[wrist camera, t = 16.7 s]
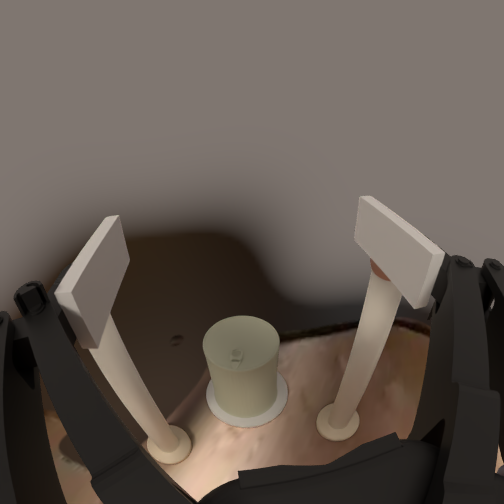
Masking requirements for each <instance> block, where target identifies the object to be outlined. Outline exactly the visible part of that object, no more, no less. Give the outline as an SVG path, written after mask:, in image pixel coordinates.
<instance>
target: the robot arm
mask: <svg viewBox="0 0 504 504" xmlns="http://www.w3.org/2000/svg"><path fill="white" fill-rule="evenodd" d="M354 240H355V241H356V242H357V243H358V244H359V246H360V247H361V248H362V249H363V250H364V251H365V252H366V253H367V254H368V255H369V257H370V258H371V259H372V260H373V261H374V262H375V263H376V264H377V265H378V267H379V268H380V269H381V270H382V271H383V272H384V273H385V275H386V276H387V277H388V278H389V279H390V280H391V282H392V283H393V284H394V285H395V286H396V287H397V289H398V290H399V291H400V292H401V293H402V295H403V296H404V297H405V298H406V299H407V301H408V302H409V303H410V304H411V306H412V307H413V308H414V309H417V308H421V307H425V306H427V304H428V301H429V299H430V296H431V295H432V296H433V297H434V298H435V299H436V300H435V302H434V304H433V307H432V309H431V312H430V314H429V317H428V319H427V320H429V319H430V318H431V317H432V322H431V332H430V341H429V349H428V357H427V363H426V370H425V375H424V381H423V386H422V391H421V396H420V401H419V405H418V409H417V414H416V418H415V421H414V425H413V428H412V431H411V433H410V435H409V436H408V438H407V439H400V440H399V438H398V436H397V434H396V432H394V433H392V434H389V435H387V436H384V437H381V438H379V439H376V440H373V441H370V442H367V443H365V444H362V445H360V446H359V447H357V448H355V449H354V450H352V451H351V452H349V453H347V454H345V455H344V456H342V457H340V458H338V459H337V460H335V461H333V462H331V463H329V464H327V465H315V466H294V465H278V466H272V467H266V468H259V469H251V470H243V471H238V475H239V478H238V479H235V480H232V481H229V482H227V483H225V484H223V485H221V486H219V487H217V488H215V489H214V490H212V491H211V492H209V493H208V494H207V495H205V496H204V497H203V498H202V499H201V500H200V501H199V502H197V501H196V500H195V499H193V498H192V497H191V496H190V495H189V494H188V493H187V492H186V491H185V490H184V489H182V488H181V487H180V486H179V485H178V484H177V483H176V482H175V481H174V480H173V479H172V478H171V477H170V476H169V475H168V474H167V473H166V472H165V471H164V470H163V469H162V468H161V467H160V466H159V465H158V464H157V462H156V461H155V460H154V459H153V458H152V457H151V456H150V455H149V453H148V452H147V451H146V450H145V449H144V448H143V447H142V445H141V444H140V443H139V442H138V441H137V439H136V438H135V437H134V436H133V435H132V433H131V432H130V431H129V429H128V428H127V427H126V425H125V424H124V423H123V422H122V420H121V419H120V418H119V417H118V415H117V413H116V412H115V411H114V409H113V408H112V407H111V405H110V404H109V402H108V401H107V399H106V398H105V396H104V395H103V393H102V392H101V390H100V389H99V387H98V386H97V384H96V383H95V381H94V379H93V378H92V376H91V375H90V373H89V371H88V370H87V368H86V366H85V365H84V363H83V361H82V359H81V358H80V356H79V354H78V353H77V351H76V349H75V347H74V343H75V341H76V338H77V340H78V342H79V344H80V345H81V347H82V348H84V349H98V348H99V345H100V342H101V338H102V335H103V332H104V329H105V326H106V323H107V320H108V317H109V314H110V311H111V308H112V306H113V303H114V300H115V297H116V295H117V292H118V289H119V287H120V284H121V281H122V279H123V276H124V274H125V271H126V269H127V266H128V264H129V261H130V259H129V255H128V251H127V247H126V243H125V239H124V235H123V231H122V226H121V222H120V218H119V215H117V216H110V217H106V218H105V219H104V221H103V222H102V223H101V225H100V226H99V227H98V229H97V230H96V231H95V233H94V234H93V235H92V237H91V238H90V239H89V241H88V243H87V244H86V245H85V247H84V248H83V249H82V251H81V252H80V254H79V255H78V257H77V258H76V260H75V261H74V263H73V264H69V265H68V266H67V267H66V268H65V269H63V270H62V272H61V273H60V275H59V276H58V278H57V279H56V281H55V282H54V284H53V285H52V287H51V289H50V290H49V292H48V293H46V291H45V289H44V287H43V284H42V283H41V282H40V281H31V282H28V283H26V284H24V285H23V286H21V287H20V288H19V289H18V290H17V291H16V293H15V295H14V301H15V302H16V305H17V307H18V308H19V310H20V312H21V314H22V316H23V317H22V318H19V319H15V320H12V319H11V318H10V315H9V314H8V313H7V312H5V311H1V312H0V504H67V503H66V500H65V497H64V494H63V492H62V488H61V485H60V482H59V479H58V476H57V472H56V469H55V465H54V461H53V457H52V453H51V449H50V444H49V440H48V435H47V429H46V424H45V418H44V412H43V405H42V397H41V388H40V377H39V371H40V374H41V376H42V379H43V382H44V384H45V386H46V389H47V391H48V394H49V396H50V398H51V401H52V403H53V405H54V408H55V410H56V412H57V414H58V416H59V418H60V420H61V422H62V424H63V426H64V428H65V430H66V432H67V434H68V436H69V438H70V440H71V441H72V443H73V445H74V447H75V449H76V450H77V452H78V454H79V455H80V457H81V459H82V461H83V462H84V464H85V465H86V467H87V469H88V470H89V472H90V474H91V476H92V480H91V481H90V482H91V485H92V487H93V489H94V491H95V492H96V494H97V496H98V497H99V498H100V500H101V501H102V502H103V504H504V465H503V466H501V467H500V468H499V469H498V472H497V473H495V467H496V461H497V453H498V443H499V448H500V452H501V457H502V460H503V463H504V266H503V265H502V264H501V263H500V262H499V261H497V260H495V259H489V258H487V259H485V260H484V263H483V266H482V268H478V267H475V266H474V264H473V263H472V262H471V261H470V260H468V259H466V258H465V257H462V256H457V255H455V256H452V257H451V256H449V255H448V254H447V253H446V252H445V251H443V250H442V249H441V248H440V247H439V246H437V245H436V244H435V243H434V242H433V241H431V240H430V239H429V238H428V237H426V236H425V235H423V234H422V233H420V232H419V231H418V230H417V229H415V228H414V227H413V226H411V225H410V224H409V223H407V222H406V221H405V220H403V219H402V218H401V217H400V216H398V215H397V214H395V213H394V212H393V211H391V210H390V209H388V208H387V207H386V206H384V205H383V204H382V203H380V202H378V201H377V200H376V199H374V198H373V197H372V196H360V197H359V205H358V213H357V221H356V228H355V235H354ZM493 300H495V302H494V306H493V308H492V309H491V307H490V306H491V303H492V301H493Z"/></svg>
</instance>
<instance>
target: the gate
mask: <svg viewBox="0 0 504 504" xmlns="http://www.w3.org/2000/svg"><path fill="white" fill-rule="evenodd" d="M370 262H371V267H372V271H371V276H370V281H369V285H368V290H367V294H366V298H365V303H364V306H363V311H362V314H361V318H360V322H359V326H358V329H357V333H356V337H355V340H354V344H353V347H352V350H351V354H350V357H349V360H348V363H347V367H346V370H345V373H344V376H343V379H342V382H341V385H340V388H339V390H338V393H337V396H336V399H335V402H334V403H332V404H329V405H327V406H325V407H324V408H323V409H322V410H321V411H320V412H319V414H318V417H317V420H316V427H317V430H318V432H319V434H320V435H321V436H322V437H324V438H325V439H327V440H330V441H344V440H346V439H348V438H350V437H351V436H352V435H353V434H354V433H355V432H356V430H357V428H358V426H359V415H358V413H357V411H356V408H357V406H358V404H359V402H360V400H361V398H362V396H363V394H364V392H365V390H366V387H367V385H368V383H369V381H370V379H371V376H372V374H373V372H374V370H375V367H376V365H377V363H378V360H379V358H380V355H381V353H382V350H383V348H384V345H385V343H386V340H387V337H388V335H389V332H390V329H391V326H392V324H393V321H394V318H395V315H396V312H397V309H398V306H399V303H400V300H401V297H402V293H401V292H400V291H399V290H398V289H397V287H396V286H395V285H394V284H393V283H392V282H391V280H390V279H389V278H388V277H387V276H386V275H385V273H384V272H383V271H382V270H381V269H380V268H379V267H378V265H377V264H376V263H375V262H374V261H373V260H372V259H371V258H370ZM89 351H90V353H91V354H92V356H93V358H94V359H95V361H96V363H97V364H98V366H99V368H100V369H101V371H102V372H103V374H104V375H105V377H106V379H107V380H108V382H109V383H110V385H111V386H112V388H113V389H114V390H115V392H116V394H117V395H118V396H119V398H120V399H121V401H122V402H123V403H124V405H125V406H126V408H127V409H128V410H129V412H130V413H131V414H132V416H133V417H134V418H135V420H136V421H137V422H138V424H139V425H140V426H141V427H142V428H143V430H144V431H145V432H146V434H147V435H148V436H149V437H148V440H147V447H148V450H149V452H150V454H151V455H152V456H153V457H154V458H155V459H156V460H157V461H159V462H161V463H163V464H168V465H173V464H178V463H180V462H182V461H184V460H185V459H186V458H187V457H188V456H189V454H190V452H191V448H192V444H191V440H190V438H189V437H188V435H187V433H186V432H185V431H184V430H182V429H181V428H179V427H177V426H173V425H168V423H167V422H166V420H165V419H164V417H163V415H162V414H161V412H160V411H159V409H158V407H157V406H156V404H155V402H154V400H153V399H152V397H151V396H150V394H149V392H148V390H147V388H146V386H145V385H144V383H143V381H142V379H141V377H140V375H139V373H138V372H137V370H136V368H135V366H134V364H133V362H132V360H131V358H130V356H129V354H128V352H127V350H126V348H125V346H124V344H123V341H122V339H121V337H120V335H119V333H118V330H117V328H116V326H115V324H114V322H113V319H112V317H111V314H109V317H108V320H107V323H106V326H105V329H104V332H103V335H102V338H101V342H100V345H99V348H98V349H89Z"/></svg>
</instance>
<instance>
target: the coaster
mask: <svg viewBox="0 0 504 504" xmlns="http://www.w3.org/2000/svg"><path fill="white" fill-rule="evenodd" d="M277 391H278V393H277V398H276V401H275V403H274V404H273V406H272V407H271V408H270V409H269V410H268V411H266V412H265V413H263V414H261V415H259V416H256V417H251V418H240V417H235V416H232V415H230V414H228V413H226V412H225V411H223V410H222V409H221V408H220V407H219V405H218V404H217V402H216V400H215V395H214V387H213V383H212V379H211V380H210V382H209V384H208V387H207V391H206V398H207V403H208V405H209V408H210V410H211V411H212V413H213V414H214V415H215V416H216V417H217V418H218V419H219V420H221V421H222V422H224V423H226V424H228V425H231V426H234V427H239V428H254V427H259V426H262V425H265V424H267V423H269V422H271V421H272V420H274V419H275V418H276V417H277V416H278V415H279V414H280V413H281V412H282V410H283V409H284V407H285V405H286V402H287V397H288V389H287V385H286V382H285V380H284V378H283V377H282V376H281V374H280V373H279V372H278V371H277Z"/></svg>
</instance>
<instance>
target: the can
mask: <svg viewBox="0 0 504 504" xmlns="http://www.w3.org/2000/svg"><path fill="white" fill-rule="evenodd" d="M279 345H280V340H279V336H278V333H277V331H276V330H275V329H274V327H273V326H271V324H269V323H268V322H266V321H264V320H262V319H259V318H256V317H252V316H235V317H230V318H226V319H224V320H221V321H219V322H217V323H216V324H214V325H213V326H212V327H211V328H210V329H209V330H208V331H207V333H206V334H205V337H204V340H203V350H204V353H205V356H206V359H207V363H208V367H209V371H210V375H211V379H212V383H213V387H214V395H215V400H216V402H217V404H218V405H219V407H220V408H221V409H222V410H223V411H225V412H226V413H228V414H230V415H232V416H235V417H240V418H251V417H256V416H259V415H261V414H263V413H265V412H266V411H268V410H269V409H270V408H271V407H272V406H273V404H274V403H275V401H276V398H277V393H278V391H277V367H278V351H279Z"/></svg>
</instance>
